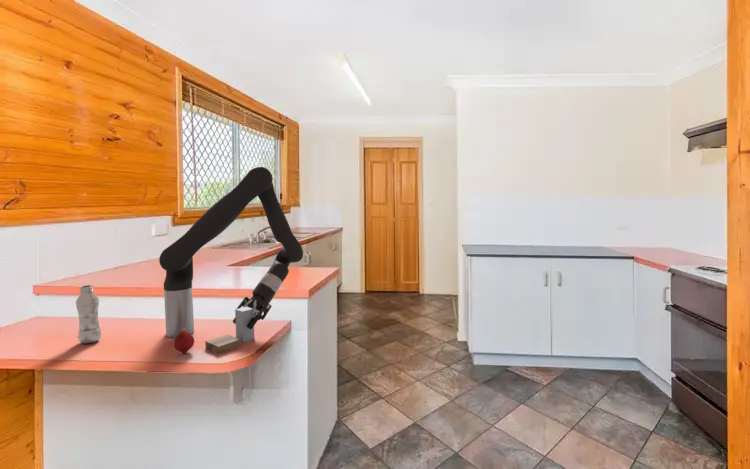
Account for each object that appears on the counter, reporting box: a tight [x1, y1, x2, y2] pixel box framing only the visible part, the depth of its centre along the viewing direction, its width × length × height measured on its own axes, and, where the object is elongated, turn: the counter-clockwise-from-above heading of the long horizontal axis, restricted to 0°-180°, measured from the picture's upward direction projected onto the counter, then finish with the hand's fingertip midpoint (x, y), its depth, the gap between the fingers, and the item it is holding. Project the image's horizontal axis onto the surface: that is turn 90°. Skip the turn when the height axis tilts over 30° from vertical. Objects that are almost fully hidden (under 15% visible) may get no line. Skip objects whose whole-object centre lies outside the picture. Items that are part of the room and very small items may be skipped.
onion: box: [173, 329, 195, 354], centre depth 116 cm, size 6×6×8 cm
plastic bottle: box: [75, 284, 102, 344], centre depth 126 cm, size 6×7×20 cm
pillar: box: [234, 306, 255, 343], centre depth 128 cm, size 4×4×11 cm
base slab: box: [204, 333, 242, 355], centre depth 121 cm, size 8×8×3 cm
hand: (241, 325), depth 127 cm, fingers open, 8 cm apart
